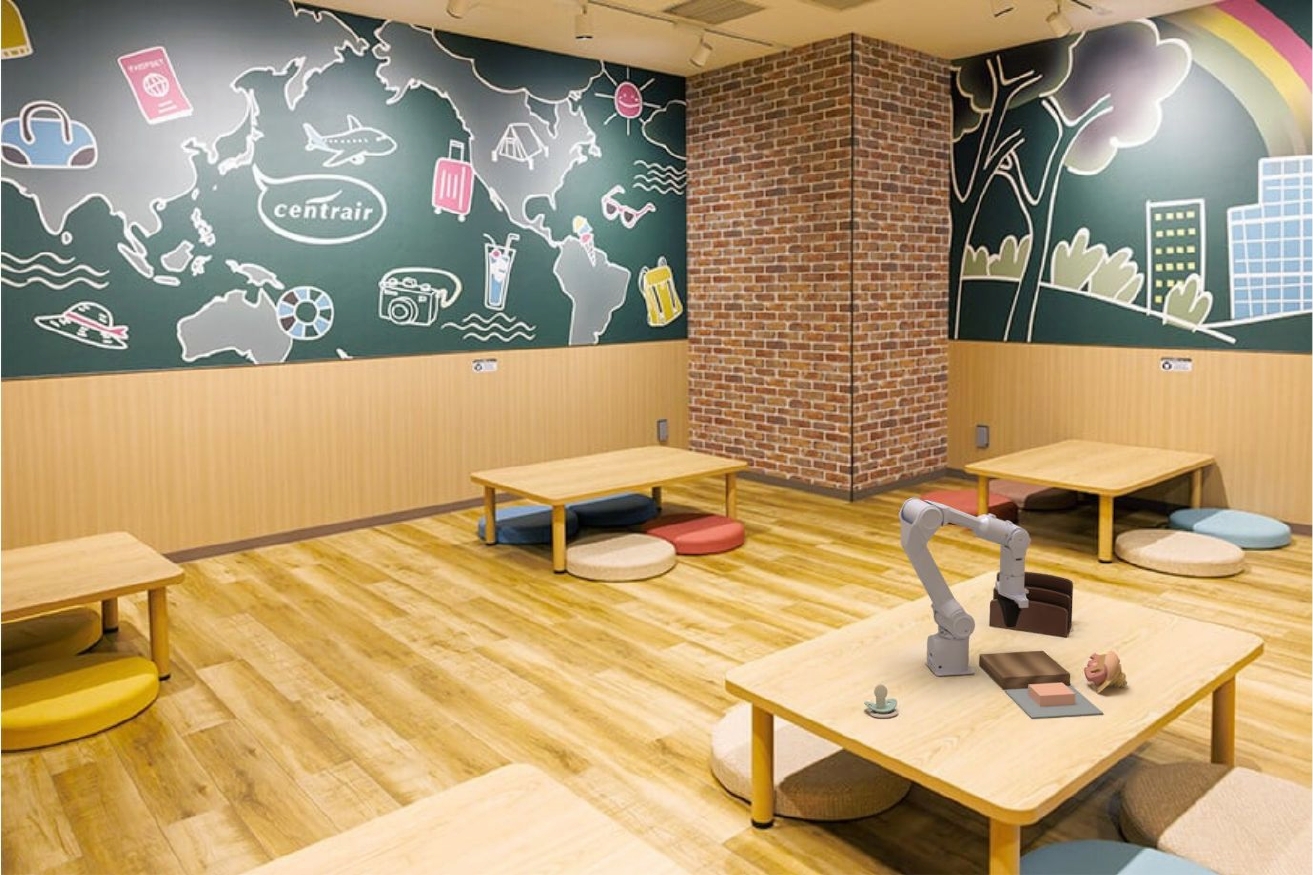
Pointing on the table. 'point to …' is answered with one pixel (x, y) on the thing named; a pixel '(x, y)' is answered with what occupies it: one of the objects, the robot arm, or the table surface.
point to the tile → (1051, 694)
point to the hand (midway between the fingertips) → (1010, 626)
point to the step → (1023, 669)
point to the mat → (1036, 712)
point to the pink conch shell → (1105, 671)
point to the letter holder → (1040, 606)
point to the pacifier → (882, 703)
